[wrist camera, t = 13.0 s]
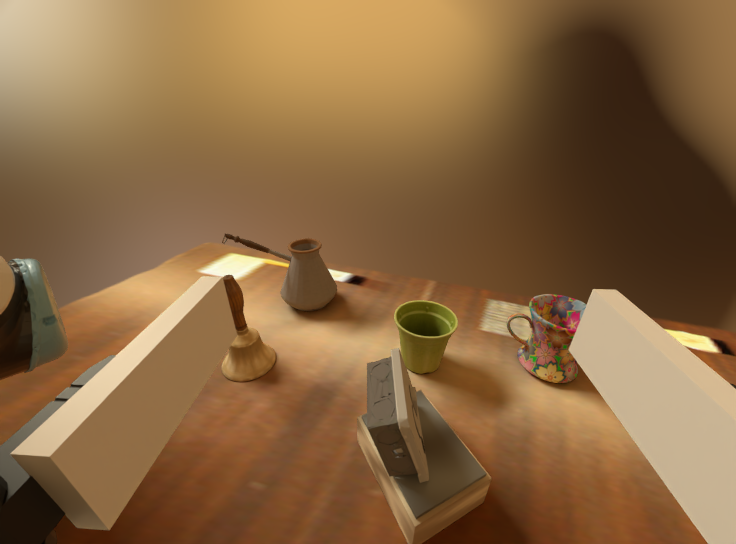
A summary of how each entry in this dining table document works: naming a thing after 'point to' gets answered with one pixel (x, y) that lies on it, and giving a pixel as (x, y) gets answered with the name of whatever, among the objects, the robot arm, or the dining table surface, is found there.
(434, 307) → the plant pot
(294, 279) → the coffee pot
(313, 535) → the dining table surface
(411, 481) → the birch stand
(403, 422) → the electrical switch
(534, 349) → the mug
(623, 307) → the robot arm
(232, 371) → the hand bell
